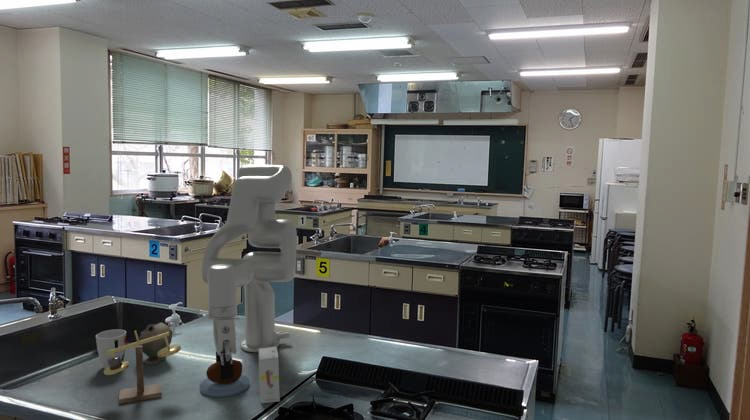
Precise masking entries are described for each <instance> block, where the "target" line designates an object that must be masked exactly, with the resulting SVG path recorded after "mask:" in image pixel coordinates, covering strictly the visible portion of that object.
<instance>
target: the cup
mask: <svg viewBox="0 0 750 420" xmlns="http://www.w3.org/2000/svg"><path fill="white" fill-rule="evenodd" d="M95 341H96V349H97V353H98V358H99V362H100V364H101V365H102V368H103V370H105V369H106V368H107V367H109V364H108V361H107V360H108V359H110V358H112V355H111V354H109V355H108V354H107V351H109V350H112V349H115V348H118V347H121V346H125V345H127V331H126V330H124V329H121V328H120V329H118V328H117V329H107V330H104V331H101V332H99V333H97V334H96V335H95ZM125 355H126V349H125V350H122V351H119V352H116V353H114V356H120V358H121V361H122V362H123V361H124V360H125Z"/></svg>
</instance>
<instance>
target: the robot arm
mask: <svg viewBox="0 0 750 420" xmlns="http://www.w3.org/2000/svg"><path fill="white" fill-rule="evenodd" d="M292 179H293V175H292V171H291V169H290V167H288V166H287V165H284V164H259V163H258V164H246V165H242V166H240V167H239V168H238V171H237V179H235V180H234V181H233V186H232V190H231V196H230V201H229V207H228V211H227V215H226V216H227V218H226V221H225V224H224V225H222V226H221V227H220V228H219V229H218V230H217V231H216V232H215V233H214V234H213V235H212V237H211V238H210V239H209V240H208V242H207V245H206V246H205V249H204V253H203V257H202V258H203V259H202V262H201V263H202V264H201V269H200V270H201V274H200V275H201V278H202V280H203V282H204V283H205V284H207V303H208V304H207V305H208V309H207V310H208V312H207V313H208V318H209V319H211V320H212V328H213V329H212V330H213V343H214V348H215V363H216V362H218V361H220V360H221V364H220V377H221V379H222V380H223V379H229V378H233V362H232V359H233V354H234V355H236V354H237V350H238V349H237V338H236V336H237V335H236V333H237V332H236V323H235V318H236V317H237V316H238V288H240V287H243V286H244V287H243V288H244V318H245V323H244V325H245V326H244V327H245V339H244V340H242V341H241V342H240V348H241V350H243V351H245V352H248V353H249V352H250V353H259V349H261V348H269V347H277V348H279V346H280V343H281V342H280V341H281V339H289V338H290V333H289V331H287V332H284V330H282V331H276V328H275V327H276V325H275V324H276V322H275V321H276V320H275V319H276V317H275V314H276V312H275V310H276V309H275V292H274V290H273V287H272V286H271V284H270V283H269V282H278V283H279V282H280V283H281V282H282V283H283V282H285V283H286V282H290V281H292V280H293V278H294V277H295V274H296V270H297V269H296V267H297V244H298V243H297V242H298V240H297V239H298V237H297V236H298V234H297V233H298V232H297V227H296V225H295V223H294V222H293V221H292V220H291V219H287V218H286V219H285V218H280V219H279V218H276V216H275V215H276V204H278V203H280V201H281V200H282V199H283V198H284V196H285V195H286V194H287V192H288V191H289V189H290V188H291V185H292ZM246 235H247V240H248V245H250V246H252V247H255V248H266V249H280V251H279V252H277V251H276V252H275V251H251V252H248V253H246V254H245V255H244V256H243V257H242V258H231V257H230V258H226V257H225V258H224V257H223V258H222V257H221V258H220V257H219V256H220V252H221V250H223V248H224V247H225V246H226V245H228V243H230V242H232V241H234V240H236V239H238V238H240V237H242V236H246Z"/></svg>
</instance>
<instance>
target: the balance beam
mask: <svg viewBox="0 0 750 420" xmlns="http://www.w3.org/2000/svg"><path fill="white" fill-rule="evenodd" d="M137 332H138V331H137V330H134V335H135V339H136V341H135V342H131V343H128V344H126V345H125V346H121V347H118V348H115V349H112V350H109V351H107V354H108V355H109V354H111V355H112V358H110V359H108V360H107V361H108V364H109V367H107V368H106V369H103V373H104V375H105V376H110V375H111V376H112V375H115V374H118V373H121V372H123V371H125V370H126V369H128V368H129V367H130V362H129V361H124V360H123V362H122V361H121V358H120V356H114V353H116V352H119V351H122V350H125V351H126V350H129V349H131V348H134V347H135V348H136V346H138V345H141V344H144V343H147V342H150V341H154V340H157V339H160V338H163V337H165V341H166V345H167V347H165V348H163V349H161V350H160V351H159V352H158V353H157V355H158V357H165V358H167V357H171V356H173V355H176V354H177V353H178V352H180V351H181V350H182V346H181V345H180V344H170V346H169V344H168V340H167V337H166V336H169V332H166V333H163V334H160V335H157V336H153V337H150V338H147V339H144V340H141V341H139V336H138V335H139V334H138V333H137Z"/></svg>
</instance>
